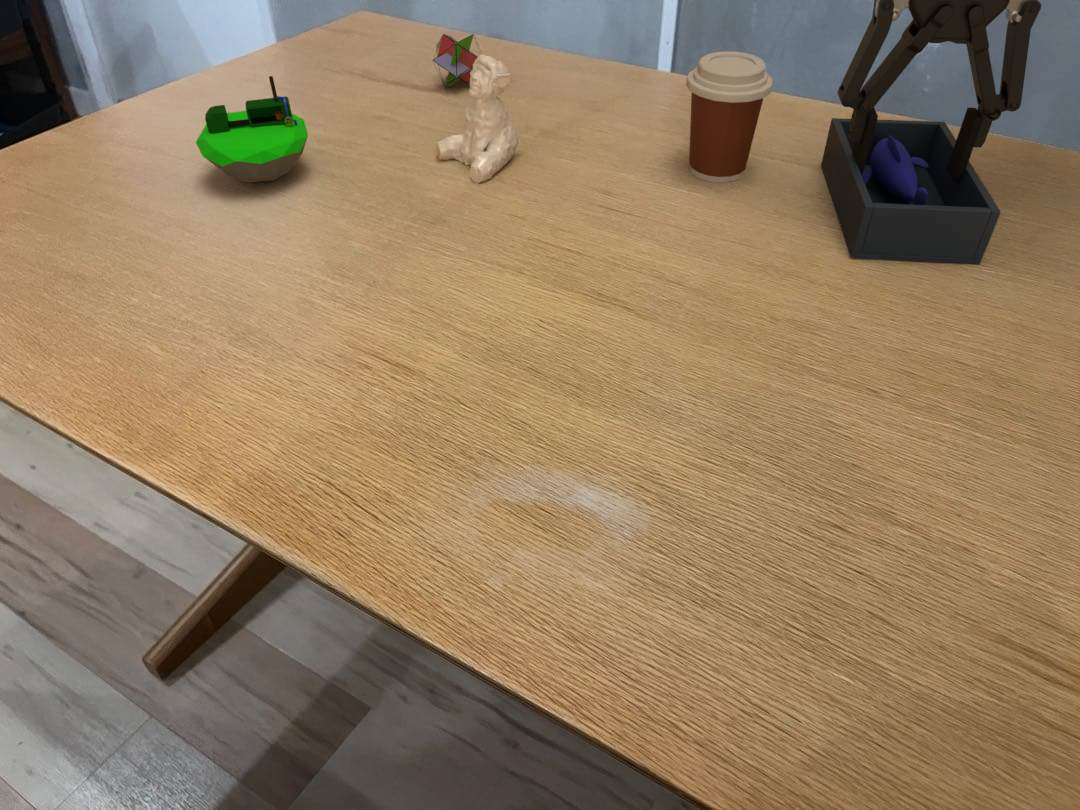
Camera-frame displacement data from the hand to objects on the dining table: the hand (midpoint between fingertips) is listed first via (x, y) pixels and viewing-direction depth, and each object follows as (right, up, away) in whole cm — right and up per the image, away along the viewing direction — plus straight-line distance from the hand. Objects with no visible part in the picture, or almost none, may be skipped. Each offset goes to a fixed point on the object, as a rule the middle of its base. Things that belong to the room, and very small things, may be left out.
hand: (904, 174), depth 84 cm
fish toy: (+1, -3, +2) cm, 4 cm away
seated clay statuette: (-44, +5, +13) cm, 46 cm away
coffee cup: (-17, +3, +10) cm, 20 cm away
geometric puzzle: (-48, +21, +30) cm, 61 cm away
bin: (0, -3, +3) cm, 4 cm away
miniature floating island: (-69, +3, +10) cm, 70 cm away
